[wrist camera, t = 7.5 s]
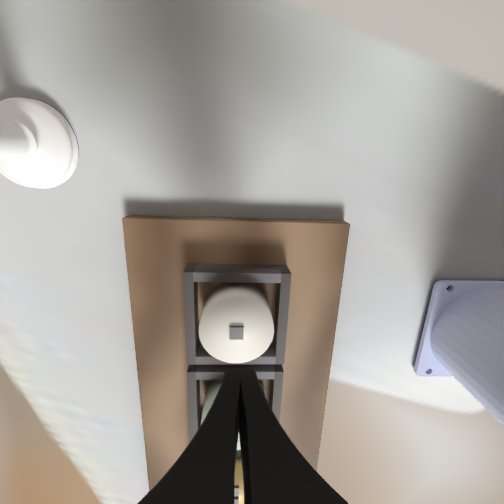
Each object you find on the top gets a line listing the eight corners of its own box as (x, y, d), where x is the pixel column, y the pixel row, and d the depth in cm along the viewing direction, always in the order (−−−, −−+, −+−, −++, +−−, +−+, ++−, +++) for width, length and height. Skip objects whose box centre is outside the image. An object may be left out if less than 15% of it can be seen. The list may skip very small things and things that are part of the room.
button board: (344, 221, 19) (360, 229, 16) (308, 497, 26) (315, 532, 24) (128, 215, 18) (110, 223, 15) (155, 501, 25) (146, 538, 23)
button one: (271, 281, 18) (276, 299, 16) (268, 340, 19) (272, 365, 17) (202, 280, 18) (197, 298, 15) (204, 339, 19) (198, 365, 17)
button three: (261, 445, 22) (264, 480, 20) (259, 485, 23) (262, 523, 21) (205, 446, 22) (201, 482, 19) (206, 486, 23) (202, 525, 21)
